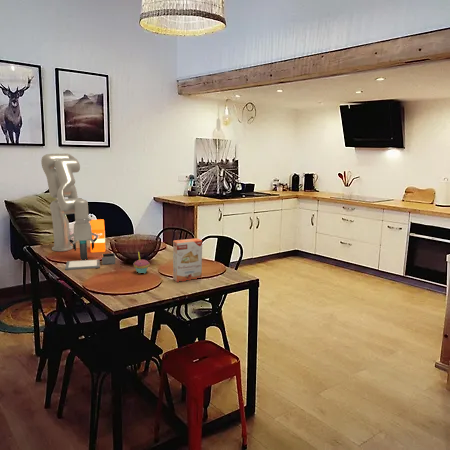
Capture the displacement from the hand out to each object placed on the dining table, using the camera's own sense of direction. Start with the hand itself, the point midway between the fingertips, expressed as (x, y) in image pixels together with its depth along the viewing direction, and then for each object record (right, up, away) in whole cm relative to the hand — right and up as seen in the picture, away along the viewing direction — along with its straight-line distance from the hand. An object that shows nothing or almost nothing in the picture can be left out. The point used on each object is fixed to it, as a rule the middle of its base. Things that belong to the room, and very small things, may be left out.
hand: (83, 249), depth 255 cm
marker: (-1, -6, +2) cm, 6 cm away
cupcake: (+38, -11, -20) cm, 44 cm away
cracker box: (+63, -14, -29) cm, 71 cm away
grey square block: (+16, -7, -4) cm, 18 cm away
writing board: (+3, -8, -10) cm, 13 cm away
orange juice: (+2, -2, +21) cm, 21 cm away
